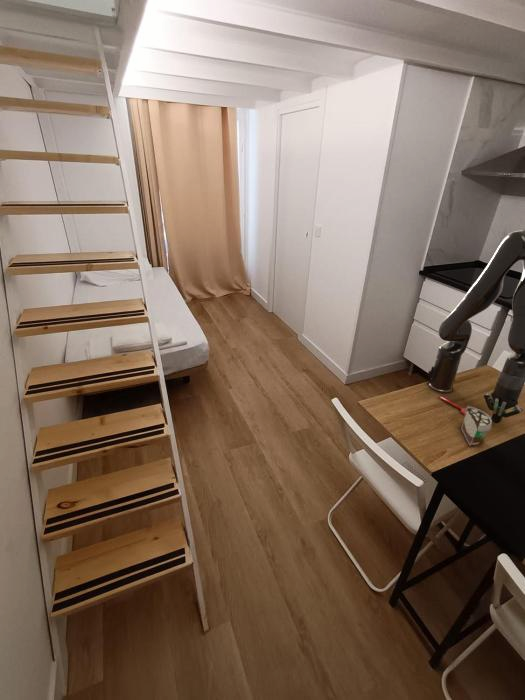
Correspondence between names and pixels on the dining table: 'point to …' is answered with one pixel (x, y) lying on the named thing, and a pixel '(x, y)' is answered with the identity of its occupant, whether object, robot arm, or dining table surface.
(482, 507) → the dining table surface
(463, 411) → the spoon
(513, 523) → the dining table surface
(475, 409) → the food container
